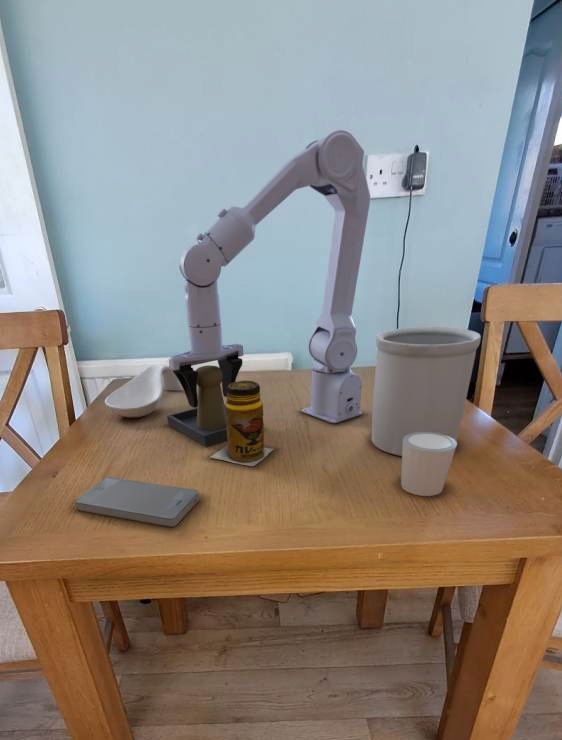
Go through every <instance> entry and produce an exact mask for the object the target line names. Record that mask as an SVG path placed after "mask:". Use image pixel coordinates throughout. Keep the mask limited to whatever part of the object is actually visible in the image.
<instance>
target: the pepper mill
mask: <svg viewBox="0 0 562 740" xmlns="http://www.w3.org/2000/svg"><path fill="white" fill-rule="evenodd" d="M195 371H197V372H198V376H197V397H198V412H197V427H198V428H200V429H203V430H218V429H222V428H224V427H226V412H225V406H224V404H225V401H224V396H223V391H222V379H223V374H222V371H221V369H220V368H219V366H217V365H210V364H209V365H202V366H198V367H197V368H196V370H195Z"/></svg>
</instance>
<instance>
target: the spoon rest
mask: <svg viewBox="0 0 562 740" xmlns="http://www.w3.org/2000/svg"><path fill="white" fill-rule="evenodd" d="M181 388H182V385H181V383H180V381H179V380H178V378H177V377H176V375H175V374H174V372H173V370H172V369H170V368H169V366H168V365H163V366H160V365H157V364H156V365H150V366H148V367H147V368H145V369H144V370H142V371H141V372H140V373H139V374H137V375H136V376H135V377H133V378H132V379H130V380H129V381H128V382H126V383H125V384H123V385H122V386H120V387H119V388H117V389H116V390H113V392H111V393H110V394H109V395H107V397H106V398H105V400H104V404H105V406H106V407H107V408H108V409H109V410H110V411H111V412H113V413H114V414H116V415H118V416H120V417H125V418H128V419H137V418H142V417H146V416H149V415H150V414H151V413H152V412H153V411H154V410H155V409H156V408H157V407H158V405H159V404H160V402H161V399H162V395H163V389H165V390H180V389H181Z"/></svg>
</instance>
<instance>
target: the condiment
mask: <svg viewBox="0 0 562 740" xmlns="http://www.w3.org/2000/svg"><path fill="white" fill-rule="evenodd" d="M226 391H227V396H226V397H225V398H226V401H225V403H224V404H225V412H226V427H227V440H226V441H227V442H226V443H227V444H226V445H225V446H224V447H223V448H221V449H219V451H216V452H215V453H214V454H212V455H211V456H210V457H209V458H210V459H215V460H221V461H226V462H230V463H233V464H238V465H243V466H247V467H255V466H256V465H257V464H259V463H260V462H261V461H263V460H264V459H265V458H266V457H267V456H269V454H270V453H272V451H274V448H271V447H270V448H269V447H265V431H264V430H265V427H264V425H265V424H264V403H263V400H261V386H260V384H259V383H258V382H256V381H253V380H238V381H235V382H233V383H230V384H229V385H228V386H227V388H226Z"/></svg>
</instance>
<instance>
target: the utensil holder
mask: <svg viewBox="0 0 562 740" xmlns="http://www.w3.org/2000/svg"><path fill="white" fill-rule="evenodd" d="M481 338H482V336H481V333H478V332H477V331H474V330H470V329H465V328H459V327H446V326H417V327H405V328H395V329H389V330H385V331H382V332H379V333H378V334H377V335H376V341H375V344H376V347H377V349H376V364H375V374H374V375H375V377H374V389H373V400H372V401H373V402H372V415H371V419H372V420H371V442H372V444H373V445H374V447H376V448H378V449H379V450H381V451H382V452H385V453H388V454H391V455H395V456H399V457H402V449H403V439H404V437H405V436H406V435H409V434H411V433H417V432H432V433H439V434H443V435H446V436H449V437H451V438H453V439H454V440H455V441H456V442H457V441H458V439H459V433H460V429H461V425H462V421H463V416H464V411H465V407H466V401H467V397H468V392H469V387H470V382H471V378H472V373H473V369H474V364H475V359H476V354H477V349H478V348H479V346H480V343H481ZM457 443H458V442H457Z"/></svg>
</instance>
